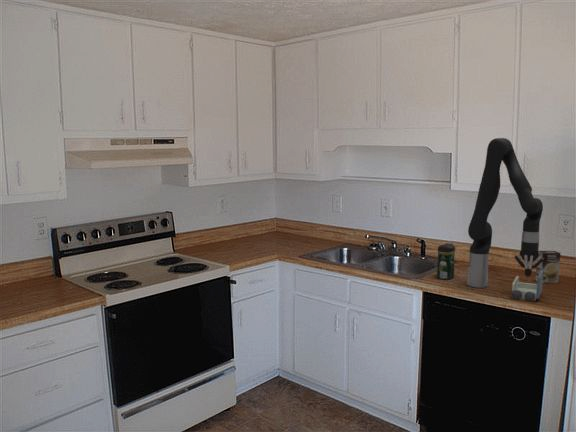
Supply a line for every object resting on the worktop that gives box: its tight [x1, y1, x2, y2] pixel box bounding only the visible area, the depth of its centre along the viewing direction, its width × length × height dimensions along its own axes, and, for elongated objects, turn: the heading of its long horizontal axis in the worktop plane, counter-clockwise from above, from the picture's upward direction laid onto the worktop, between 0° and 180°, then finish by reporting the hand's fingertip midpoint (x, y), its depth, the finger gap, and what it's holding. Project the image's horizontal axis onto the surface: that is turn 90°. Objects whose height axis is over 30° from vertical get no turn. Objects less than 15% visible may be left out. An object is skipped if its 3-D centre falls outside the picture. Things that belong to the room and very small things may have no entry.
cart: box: [510, 275, 537, 302], centre depth 248 cm, size 10×17×7 cm, turn 150°
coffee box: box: [534, 250, 561, 284], centre depth 270 cm, size 9×6×16 cm
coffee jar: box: [436, 243, 456, 280], centre depth 279 cm, size 10×8×19 cm
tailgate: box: [536, 270, 544, 300], centre depth 245 cm, size 1×16×10 cm, turn 150°
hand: (527, 276), depth 247 cm, fingers closed
